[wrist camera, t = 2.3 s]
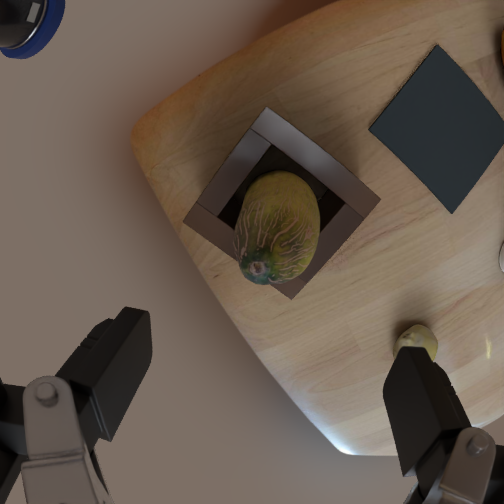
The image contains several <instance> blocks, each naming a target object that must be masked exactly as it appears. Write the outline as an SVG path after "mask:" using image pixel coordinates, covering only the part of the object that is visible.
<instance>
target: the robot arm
mask: <svg viewBox="0 0 504 504" xmlns="http://www.w3.org/2000/svg"><path fill="white" fill-rule="evenodd" d="M48 6H49V0H0V47H4V48H7V49H19V48H21V47H23V46H25V45H26V44H27V43H28V42H29V41H31V40H32V38H33V37H34V36H35V35H36V34H37V32H38V31H39V29H40V28H41V26H42V24H43V22H44V20H45V18H46V15H47V11H48ZM151 358H152V338H151V324H150V314H149V312H148V311H145V310H140V309H136V308H131V307H124V308H123V309H122V310H121V312H120V313H119V314H118V316H117V317H116V318H115V319H114V320H113V319H109V318H108V319H106V320H104V321H103V322H101V323H99V324H98V325H96V326H95V327H94V328H93V329H92V330H91V332H90V333H89V334H88V335H87V338H85V339H84V340H83V341H82V342H81V344H80V346H78V347H77V349H76V350H75V351H74V352H73V353H72V355H71V356H70V357H69V358H68V360H67V361H66V362H65V363H64V365H63V366H62V367H61V368H60V370H59V371H58V372H57V374H56V375H55V376H43V377H40V378H37V379H35V380H33V381H32V382H30V383H29V384H28V385H27V387H23V386H16V385H8V384H3V383H2V380H1V378H0V504H5V502H6V500H7V497H8V495H9V493H10V491H11V489H12V487H13V485H14V483H15V481H16V479H17V477H18V475H19V473H20V471H21V474H22V480H23V486H24V492H25V497H26V502H27V504H114V501H113V499H112V497H111V494H110V492H109V489H108V486H107V484H106V481H105V478H104V475H103V472H102V469H101V466H100V463H99V460H98V457H97V454H96V450H95V448H94V446H95V444H96V442H97V440H98V438H101V439H104V440H107V441H110V442H111V441H112V439H113V437H114V435H115V433H116V431H117V429H118V427H119V425H120V423H121V421H122V419H123V417H124V415H125V413H126V411H127V409H128V407H129V405H130V403H131V401H132V399H133V397H134V395H135V393H136V391H137V389H138V387H139V385H140V384H141V382H142V380H143V378H144V376H145V374H146V372H147V370H148V368H149V366H150V363H151ZM383 399H384V402H385V406H386V410H387V413H388V417H389V421H390V425H391V429H392V433H393V436H394V440H395V444H396V449H397V453H398V457H399V461H400V466H401V470H402V474H403V477H408V476H416V475H417V479H418V481H417V482H416V483H415V485H414V486H413V488H412V489H411V491H410V493H409V495H408V497H407V498H406V500H405V502H404V504H504V446H502V445H496V444H495V442H494V440H493V438H492V437H491V436H490V435H489V434H488V433H487V432H486V431H484V430H482V429H480V428H476V427H472V426H471V424H470V421H469V419H468V417H467V415H466V413H465V411H464V408H463V406H462V404H461V402H460V400H459V398H458V396H457V395H456V392H455V390H454V388H453V386H451V382H450V380H449V378H448V376H447V374H446V372H445V371H444V370H443V369H442V368H441V367H440V366H439V365H438V364H437V363H436V362H433V361H432V360H431V358H430V356H429V354H428V352H427V350H426V348H424V347H415V346H402V347H401V348H400V350H399V352H398V354H397V356H396V358H395V360H394V363H393V365H392V367H391V369H390V371H389V373H388V376H387V378H386V380H385V383H384V387H383ZM27 458H28V459H27Z"/></svg>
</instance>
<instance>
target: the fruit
mask: <svg viewBox="0 0 504 504" xmlns="http://www.w3.org/2000/svg"><path fill="white" fill-rule="evenodd" d="M402 346H415V347H424V348H426V350H427V352H428V354H429V356H430V358H431V360H432V361H433V360H434V359H435V356H436V353H437V348H438V342H437V339H436V337H435V335H434V334H433V332H432V331H431V330H430V329H428V328H427V327H425V326H422V325H414V326H412V327H410V328H409V329H408V330H406V331H405V332H404V333H402V335H401V336H400V337H399V338H398V340H397V341H396V344H395V345H394V348H393V356H394V359H395V358H396V356H397V354H398V352H399V350H400V348H401V347H402Z"/></svg>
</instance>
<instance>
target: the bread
mask: <svg viewBox="0 0 504 504" xmlns="http://www.w3.org/2000/svg"><path fill="white" fill-rule="evenodd" d="M501 58H502V65H503V69H504V29H503V31H502V36H501Z"/></svg>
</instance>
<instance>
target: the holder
mask: <svg viewBox="0 0 504 504" xmlns="http://www.w3.org/2000/svg"><path fill="white" fill-rule="evenodd" d="M272 144H273V145H274V146H275V147H277V148H278V149H279V150H281V151H282V152H283V153H285V154H286V155H287V156H289V157H290V158H291V159H293V160H294V161H295V162H296V163H298V164H299V165H300V166H302V167H303V168H304V169H305V170H307V171H308V172H309V173H310V174H312V175H313V176H314V177H315V178H317V179H318V180H319V181H320V182H322V183H323V184H324V185H325V186H326V187H328V188H329V190H328V191H327V193H326V194H325V195H324V196H323V197H322V199H321V200H320V201H319V202H318V203H317V204H318V209H319V213H320V234H319V237H318V243H317V247H316V250H315V253H314V255H313V258H312V260H311V262H310V263H309V265H308V266H307V268H306V269H305V270H304V271H303V272H302V273H301V274H300V275H298V276H297V277H295V278H294V279H292V280H290V281H288V282H285V283H281V284H270V285H271V286H273V287H274V288H276V289H277V290H278V291H280V292H281V293H283V294H284V295H285V296H287V297H288V298H290V299H291V300H292V299H293V298H294V297H295V296H296V295H297V294H298V293H299V291H300V290H301V289H302V288H303V287H304V286H305V285H306V284H307V283H308V282H309V281H310V280H311V279H312V278H313V276H314V275H315V274H316V273H317V272H318V271H319V270H320V269H321V268H322V267H323V265H324V264H325V263H326V262H327V261H328V260H329V259H330V258H331V257H332V256H333V254H334V253H335V252H336V251H337V250H338V249H339V248H340V247H341V245H342V244H343V243H344V242H345V241H346V240H347V239H348V238H349V236H350V235H351V234H352V233H353V232H354V231H355V230H356V228H357V227H358V226H359V225H360V224H361V223H362V221H363V220H364V219H365V218H366V217H367V216H368V214H369V213H370V212H371V211H372V210H373V209H374V207H375V206H376V205H377V204H378V203H379V202H380V200H381V199H380V198H379V197H378V196H377V195H376V194H375V193H374V192H373V191H372V190H370V189H369V188H368V187H367V186H366V185H365V184H364V183H363V182H362V181H360V180H359V179H358V178H357V177H356V176H355V175H354V174H352V173H351V172H350V171H349V170H348V169H347V168H345V167H344V166H343V165H342V164H341V163H339V162H338V161H337V160H336V159H335V158H333V157H332V156H331V155H330V154H329V153H327V152H326V151H325V150H324V149H322V148H321V147H320V146H319V145H317V144H316V143H315V142H314V141H312V140H311V139H310V138H309V137H307V136H306V135H305V134H303V133H302V132H301V131H300V130H298V129H297V128H296V127H294V126H293V125H292V124H290V123H289V122H288V121H286V120H285V119H284V118H282V117H281V116H280V115H278V114H277V113H275V112H274V111H273V110H271V109H270V108H269V107H267V106H266V107H265V108H264V110H263V111H262V112H261V114H260V115H259V116H258V117H257V119H256V120H255V121H254V123H253V124H252V125H251V127H250V128H249V129H248V131H247V132H246V133H245V135H244V136H243V137H242V138H241V140H240V141H239V142H238V144H237V145H236V147H235V148H234V149H233V151H232V152H231V153H230V155H229V156H228V157H227V159H226V160H225V161H224V163H223V164H222V166H221V167H220V168H219V170H218V171H217V173H216V174H215V175H214V177H213V178H212V180H211V181H210V182H209V184H208V185H207V187H206V188H205V190H204V191H203V192H202V194H201V195H200V197H199V198H198V200H197V201H196V202H195V204H194V205H193V207H192V208H191V210H190V211H189V213H188V214H187V216H186V217H185V219H184V220H183V222H184V223H185V224H186V225H188V226H189V227H190V228H192V229H193V230H195V231H196V232H197V233H199V234H200V235H201V236H203V237H204V238H206V239H207V240H208V241H210V242H211V243H213V244H214V245H215V246H217V247H218V248H219V249H221V250H222V251H224V252H225V253H226V254H228V255H229V256H231V257H232V258H233V259H235V260H236V261H238V260H237V257H236V254H235V251H234V246H233V239H234V231H235V226H236V223H237V220H238V218H239V215H240V211H241V209H242V205H241V204H240V203H238V202H237V201H236V200H234V199H233V198H232V196H233V195H234V193H235V192H236V191H237V189H238V188H239V187H240V185H241V184H242V183H243V181H244V180H245V179H246V177H247V176H248V175H249V173H250V172H251V171H252V170H253V168H254V167H255V166H256V164H257V163H258V162H259V160H260V159H261V158H262V156H263V155H264V154H265V153H266V151H267V150H268V149H269V147H270V146H271V145H272Z"/></svg>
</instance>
